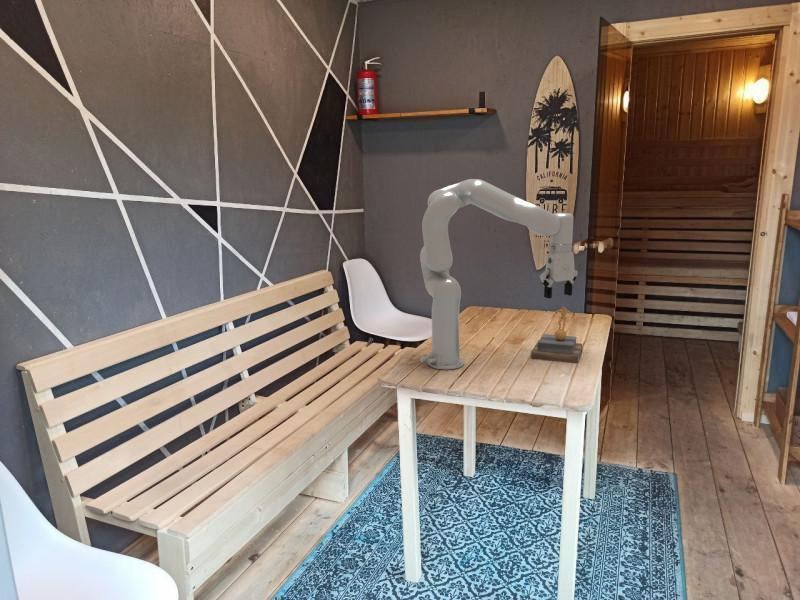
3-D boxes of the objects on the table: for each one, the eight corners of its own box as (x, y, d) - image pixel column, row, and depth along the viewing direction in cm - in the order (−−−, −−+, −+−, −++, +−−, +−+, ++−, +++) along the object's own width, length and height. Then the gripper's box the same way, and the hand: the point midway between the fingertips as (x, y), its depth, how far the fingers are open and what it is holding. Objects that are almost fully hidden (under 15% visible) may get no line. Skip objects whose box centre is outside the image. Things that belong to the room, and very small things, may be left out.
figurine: (547, 339, 205) (548, 307, 202) (553, 336, 209) (554, 304, 207) (569, 342, 200) (571, 309, 198) (575, 339, 205) (576, 306, 203)
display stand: (577, 363, 195) (578, 348, 194) (530, 358, 202) (531, 343, 200) (581, 350, 210) (582, 335, 209) (538, 346, 216) (538, 332, 215)
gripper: (549, 251, 190) (547, 300, 194) (586, 248, 198) (583, 295, 202) (534, 249, 196) (532, 297, 200) (570, 246, 205) (567, 292, 208)
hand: (557, 296), depth 201 cm, fingers open, 9 cm apart
